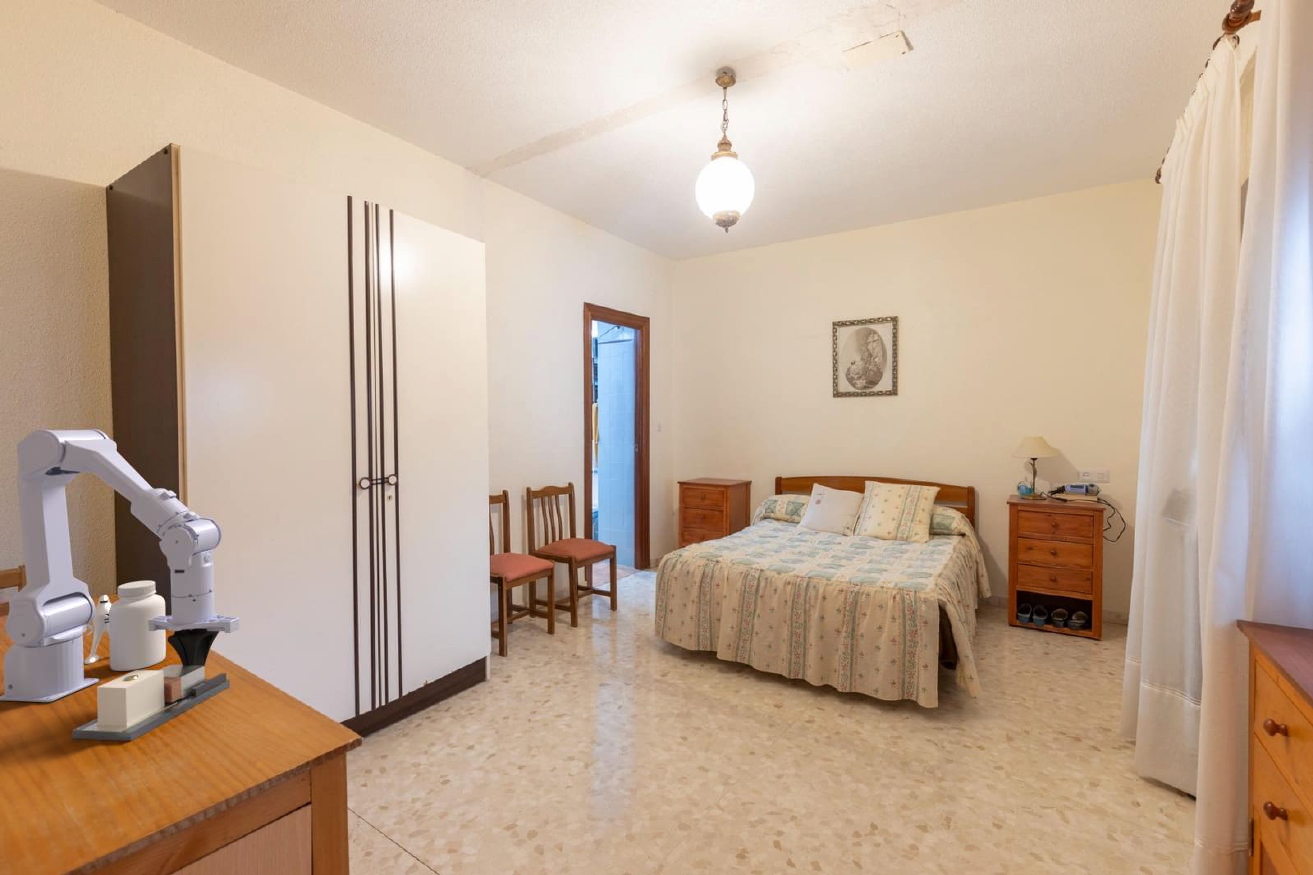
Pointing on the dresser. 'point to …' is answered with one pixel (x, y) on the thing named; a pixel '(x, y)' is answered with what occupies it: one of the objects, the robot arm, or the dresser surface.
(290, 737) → the dresser surface
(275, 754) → the dresser surface
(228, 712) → the dresser surface
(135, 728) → the base plate
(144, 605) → the pill bottle
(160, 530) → the robot arm
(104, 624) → the figurine
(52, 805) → the dresser surface
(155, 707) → the block
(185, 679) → the block
